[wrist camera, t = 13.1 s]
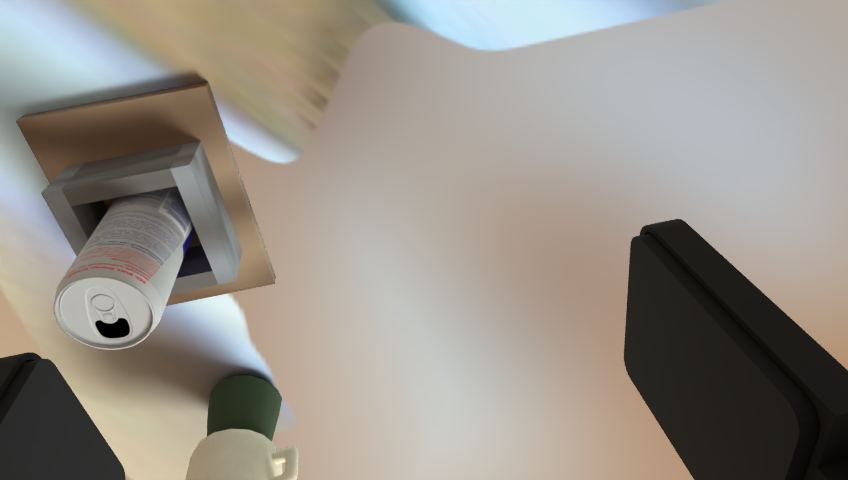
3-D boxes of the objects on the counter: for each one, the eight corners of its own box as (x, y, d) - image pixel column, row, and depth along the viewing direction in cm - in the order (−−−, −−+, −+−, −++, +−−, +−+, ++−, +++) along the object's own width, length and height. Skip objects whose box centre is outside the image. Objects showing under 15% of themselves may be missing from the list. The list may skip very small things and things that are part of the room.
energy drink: (130, 244, 42) (69, 358, 32) (107, 178, 39) (32, 279, 29) (206, 237, 43) (170, 346, 32) (189, 171, 40) (143, 268, 30)
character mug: (214, 439, 55) (187, 577, 44) (170, 391, 51) (128, 529, 40) (318, 398, 54) (318, 527, 43) (282, 347, 50) (271, 475, 39)
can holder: (22, 115, 37) (-16, 144, 33) (208, 81, 38) (193, 105, 34) (125, 307, 46) (105, 349, 42) (275, 276, 46) (271, 315, 42)
